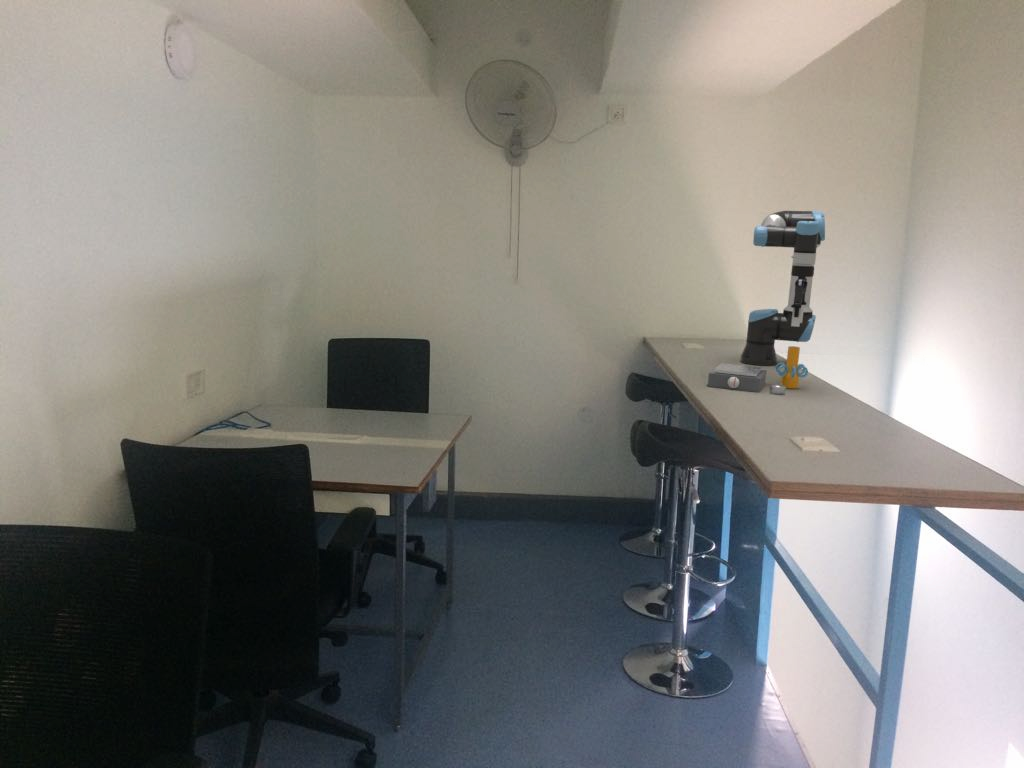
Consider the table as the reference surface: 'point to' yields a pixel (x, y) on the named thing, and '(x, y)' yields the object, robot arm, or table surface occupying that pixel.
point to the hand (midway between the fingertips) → (796, 324)
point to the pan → (738, 369)
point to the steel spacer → (777, 389)
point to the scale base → (737, 381)
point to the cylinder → (791, 369)
